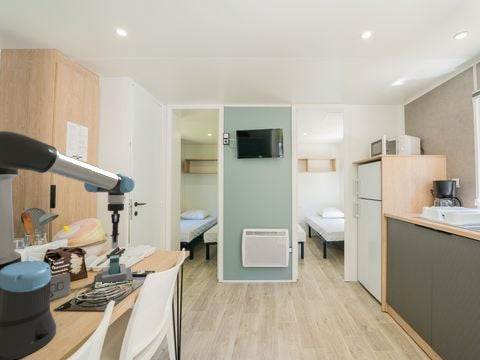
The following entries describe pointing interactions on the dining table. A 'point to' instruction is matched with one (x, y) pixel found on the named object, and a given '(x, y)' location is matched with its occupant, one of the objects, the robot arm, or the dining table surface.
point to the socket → (114, 275)
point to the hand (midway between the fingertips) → (114, 248)
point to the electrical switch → (60, 286)
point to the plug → (114, 264)
